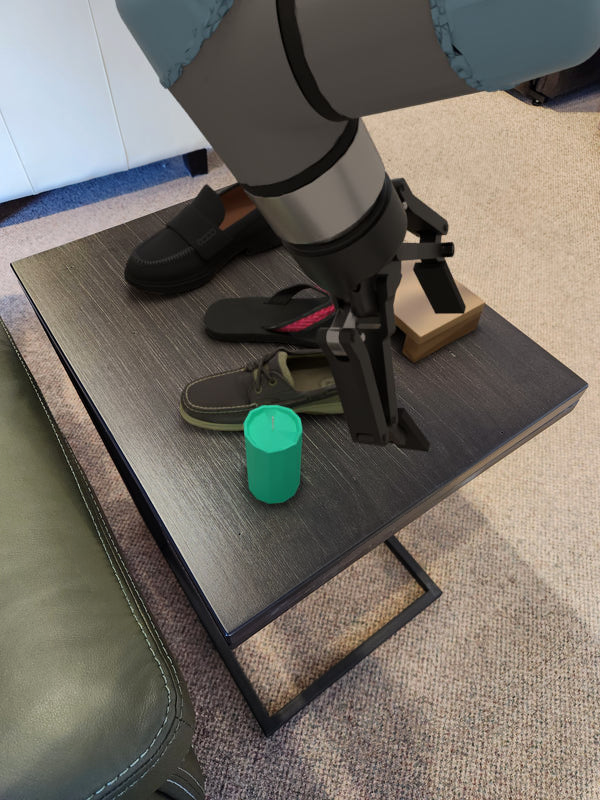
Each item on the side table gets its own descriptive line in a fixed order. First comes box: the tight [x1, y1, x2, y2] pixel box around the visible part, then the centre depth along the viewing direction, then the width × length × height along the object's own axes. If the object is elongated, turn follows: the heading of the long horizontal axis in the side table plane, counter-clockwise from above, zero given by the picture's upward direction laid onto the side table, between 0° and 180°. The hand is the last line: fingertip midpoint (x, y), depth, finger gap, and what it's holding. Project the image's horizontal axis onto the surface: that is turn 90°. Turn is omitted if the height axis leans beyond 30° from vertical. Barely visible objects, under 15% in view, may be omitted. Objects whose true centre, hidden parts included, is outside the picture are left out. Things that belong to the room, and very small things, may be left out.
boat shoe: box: [179, 346, 344, 432], centre depth 72 cm, size 9×25×8 cm, turn 103°
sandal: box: [204, 282, 381, 349], centre depth 81 cm, size 10×25×6 cm, turn 93°
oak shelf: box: [393, 239, 486, 364], centre depth 86 cm, size 22×12×5 cm, turn 35°
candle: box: [243, 405, 303, 505], centre depth 63 cm, size 6×6×12 cm
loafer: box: [123, 181, 282, 295], centre depth 88 cm, size 10×28×12 cm, turn 126°
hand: (433, 375), depth 52 cm, fingers open, 13 cm apart
